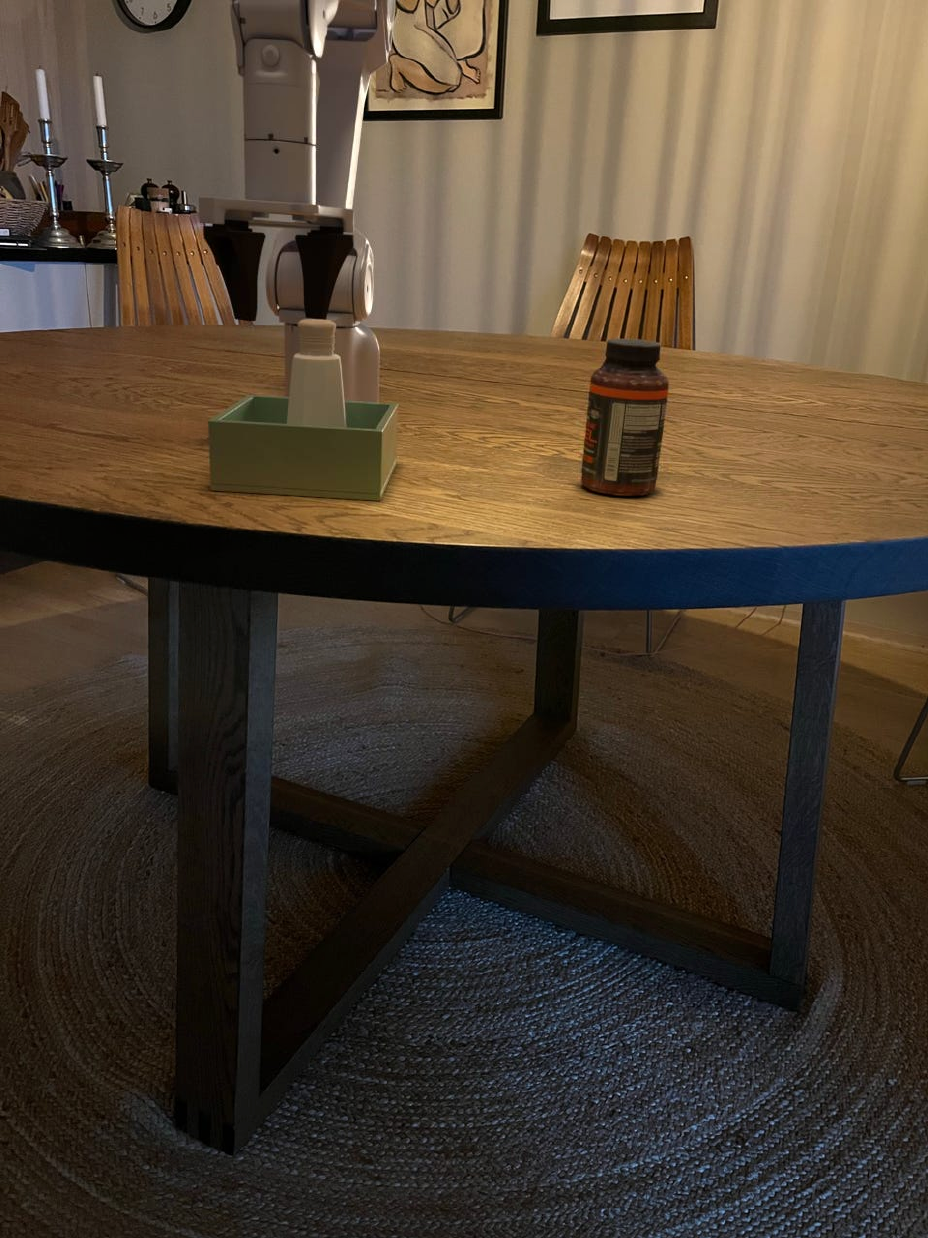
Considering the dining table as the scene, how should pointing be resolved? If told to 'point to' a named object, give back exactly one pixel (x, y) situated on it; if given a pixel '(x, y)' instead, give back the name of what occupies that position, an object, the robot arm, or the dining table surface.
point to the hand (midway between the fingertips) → (281, 319)
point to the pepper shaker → (316, 378)
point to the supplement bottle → (625, 420)
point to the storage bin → (302, 450)
